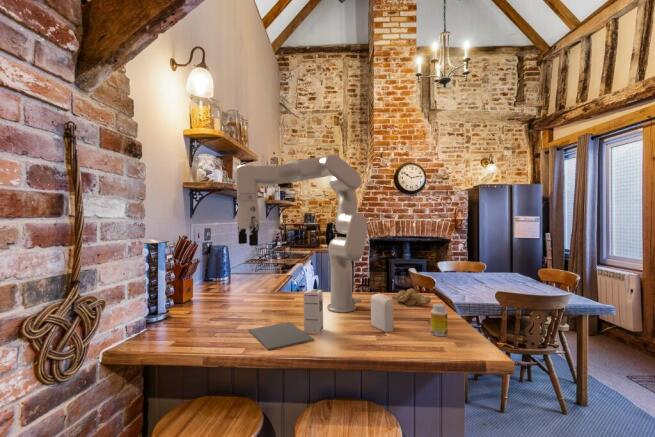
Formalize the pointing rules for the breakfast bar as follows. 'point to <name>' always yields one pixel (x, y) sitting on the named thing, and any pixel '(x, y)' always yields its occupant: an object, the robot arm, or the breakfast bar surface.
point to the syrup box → (313, 311)
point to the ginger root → (411, 298)
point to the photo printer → (382, 312)
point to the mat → (280, 335)
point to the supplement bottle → (439, 320)
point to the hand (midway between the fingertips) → (248, 244)
